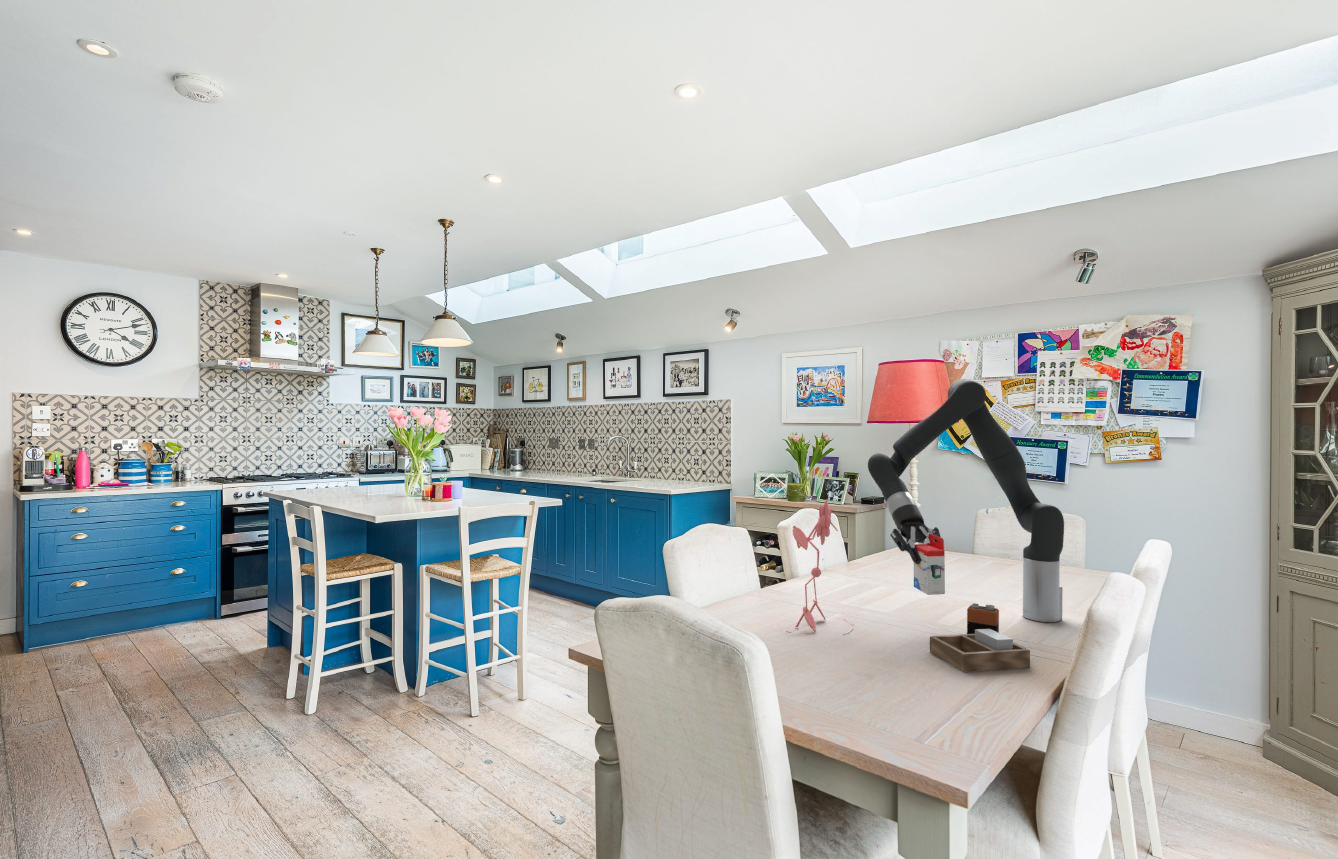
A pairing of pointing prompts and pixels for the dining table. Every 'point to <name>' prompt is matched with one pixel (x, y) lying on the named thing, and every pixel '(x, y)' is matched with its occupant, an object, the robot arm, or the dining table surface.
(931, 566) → the ink box
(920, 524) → the robot arm
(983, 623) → the battery
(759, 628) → the dining table surface
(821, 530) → the figurine
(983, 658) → the slot rack
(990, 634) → the grey block
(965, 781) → the dining table surface
